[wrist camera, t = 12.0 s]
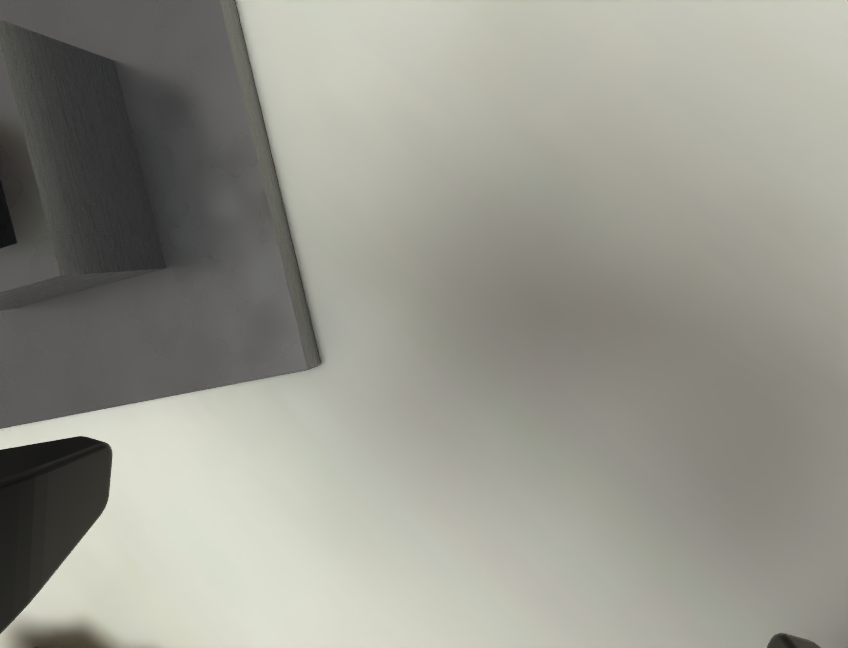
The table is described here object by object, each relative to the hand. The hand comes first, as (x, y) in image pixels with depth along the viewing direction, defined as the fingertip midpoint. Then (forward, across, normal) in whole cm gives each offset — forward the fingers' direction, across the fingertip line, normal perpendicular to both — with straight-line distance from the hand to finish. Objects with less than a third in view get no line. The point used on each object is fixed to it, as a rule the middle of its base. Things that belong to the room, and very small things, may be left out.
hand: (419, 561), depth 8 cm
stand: (+15, +16, -1) cm, 22 cm away
